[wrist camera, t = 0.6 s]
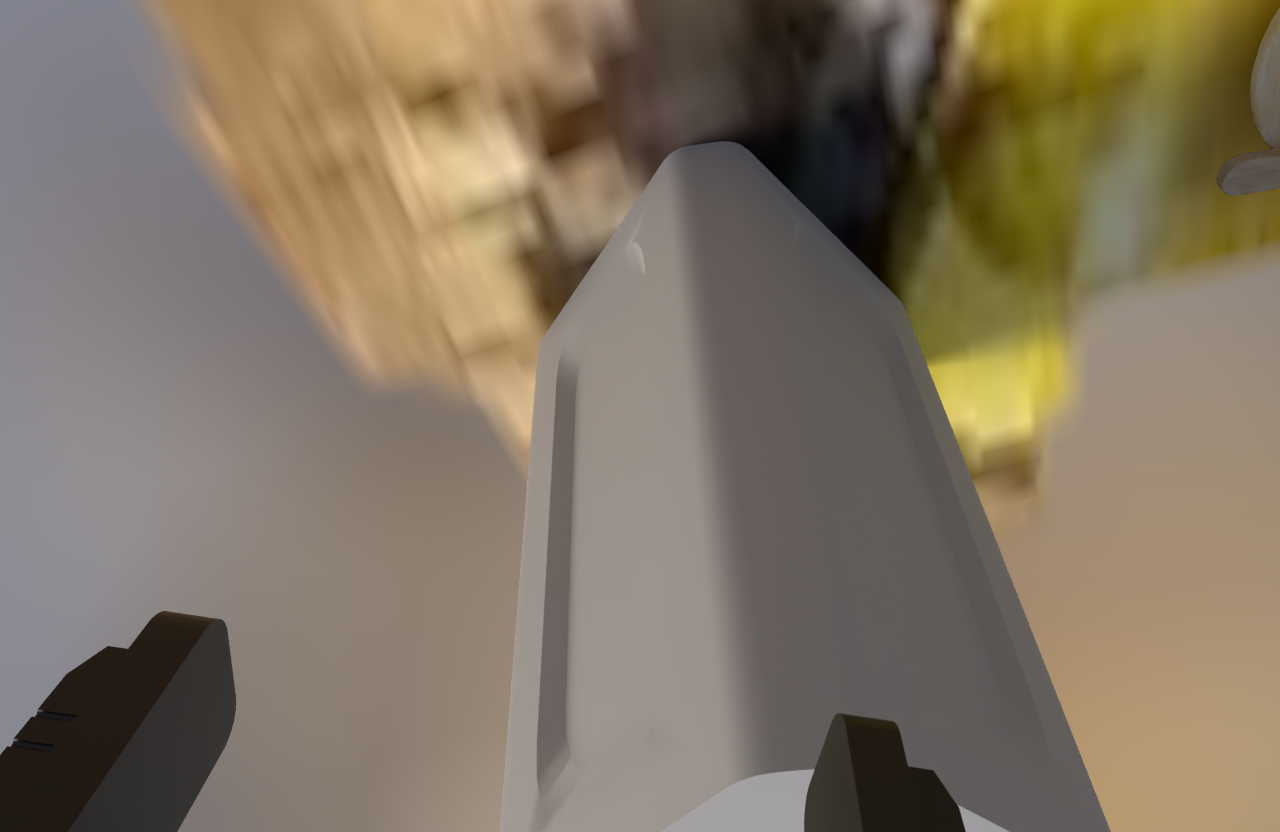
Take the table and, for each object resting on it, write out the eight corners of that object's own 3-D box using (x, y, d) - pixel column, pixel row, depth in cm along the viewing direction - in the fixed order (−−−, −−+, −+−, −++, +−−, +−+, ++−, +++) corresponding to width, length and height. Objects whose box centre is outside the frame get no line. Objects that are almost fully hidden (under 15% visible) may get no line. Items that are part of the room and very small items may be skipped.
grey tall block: (926, 115, 39) (1273, 731, 19) (899, 372, 49) (1105, 949, 29) (489, 170, 40) (376, 805, 20) (552, 410, 50) (518, 989, 30)
